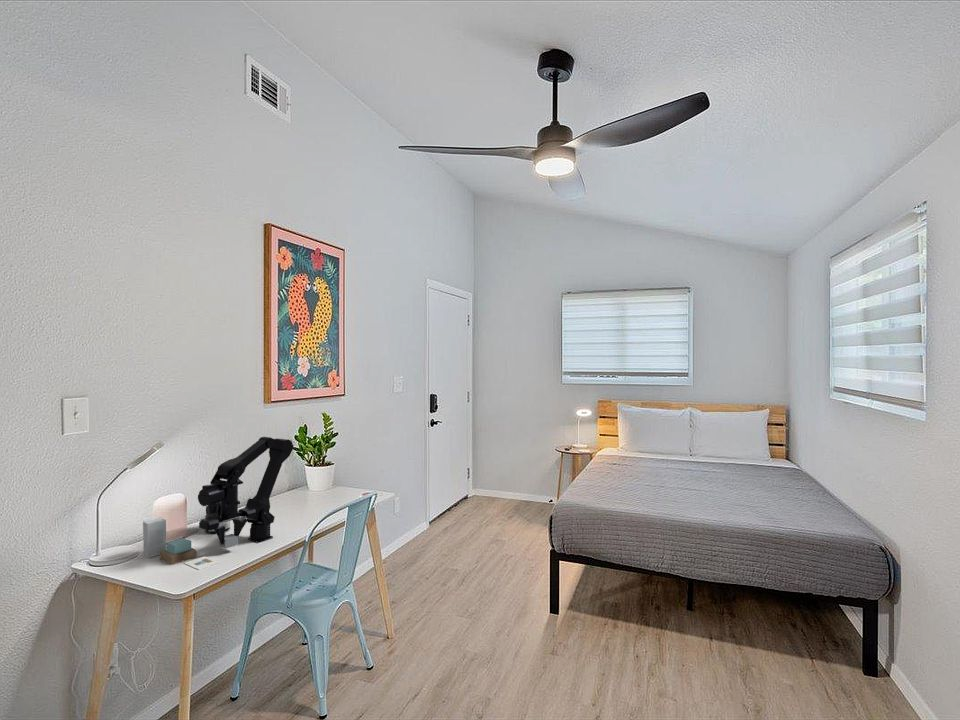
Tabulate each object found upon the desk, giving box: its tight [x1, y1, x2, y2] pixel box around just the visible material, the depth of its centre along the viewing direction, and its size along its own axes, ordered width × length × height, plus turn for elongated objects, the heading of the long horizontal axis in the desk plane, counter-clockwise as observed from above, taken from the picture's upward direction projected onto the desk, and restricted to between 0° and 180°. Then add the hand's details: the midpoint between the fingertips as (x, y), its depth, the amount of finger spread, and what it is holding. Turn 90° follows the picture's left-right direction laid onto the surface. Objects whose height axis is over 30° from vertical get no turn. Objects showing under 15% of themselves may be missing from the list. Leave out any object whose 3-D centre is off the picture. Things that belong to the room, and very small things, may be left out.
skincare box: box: [142, 517, 167, 559], centre depth 183 cm, size 6×4×12 cm
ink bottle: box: [204, 503, 231, 535], centre depth 208 cm, size 10×9×12 cm
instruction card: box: [183, 556, 220, 571], centre depth 176 cm, size 7×9×1 cm
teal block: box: [166, 537, 192, 555], centre depth 181 cm, size 6×6×3 cm
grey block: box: [219, 533, 239, 549], centre depth 186 cm, size 4×4×3 cm
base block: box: [159, 547, 197, 565], centre depth 180 cm, size 8×8×3 cm
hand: (228, 542), depth 186 cm, fingers closed on grey block, 5 cm apart
